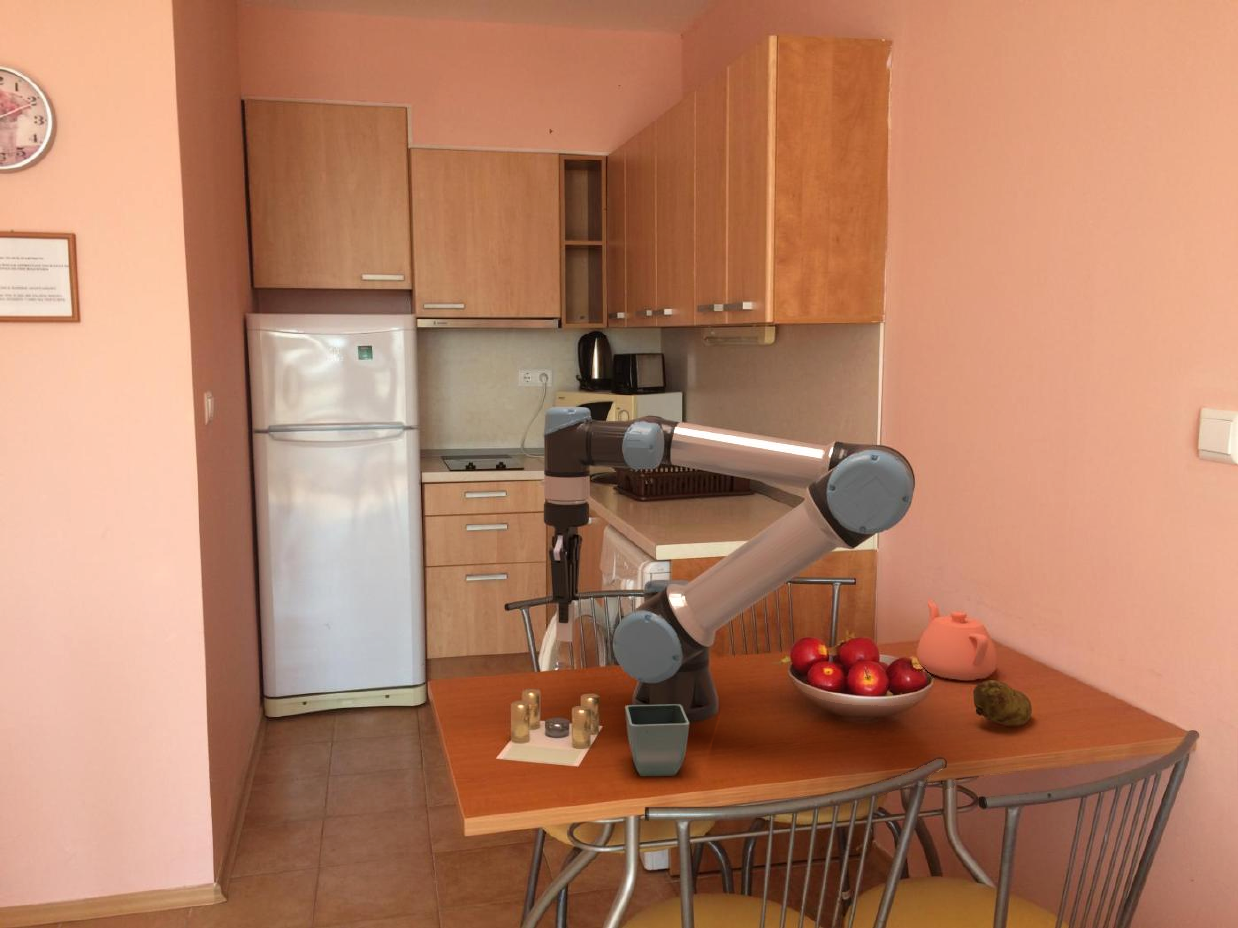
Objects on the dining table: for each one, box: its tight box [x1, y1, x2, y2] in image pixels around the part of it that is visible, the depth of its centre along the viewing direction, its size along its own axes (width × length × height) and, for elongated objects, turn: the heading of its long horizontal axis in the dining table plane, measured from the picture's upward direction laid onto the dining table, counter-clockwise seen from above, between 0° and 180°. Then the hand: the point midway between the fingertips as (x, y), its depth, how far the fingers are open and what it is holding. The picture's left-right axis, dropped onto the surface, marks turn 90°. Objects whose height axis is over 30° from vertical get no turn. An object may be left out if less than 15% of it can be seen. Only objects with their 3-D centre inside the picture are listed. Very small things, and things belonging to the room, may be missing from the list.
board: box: [495, 720, 603, 767], centre depth 165 cm, size 13×17×1 cm
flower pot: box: [624, 704, 690, 777], centre depth 155 cm, size 9×9×9 cm
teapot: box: [916, 599, 998, 681], centre depth 205 cm, size 22×15×12 cm
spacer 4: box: [571, 705, 592, 749], centre depth 163 cm, size 3×3×6 cm
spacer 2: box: [521, 688, 541, 730], centre depth 171 cm, size 3×3×6 cm
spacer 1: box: [510, 700, 530, 744], centre depth 165 cm, size 3×3×6 cm
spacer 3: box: [580, 693, 600, 735], centre depth 169 cm, size 3×3×6 cm
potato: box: [972, 679, 1033, 727], centre depth 176 cm, size 8×13×8 cm, turn 109°
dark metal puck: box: [544, 717, 570, 738], centre depth 168 cm, size 4×4×2 cm
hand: (565, 639), depth 172 cm, fingers closed
